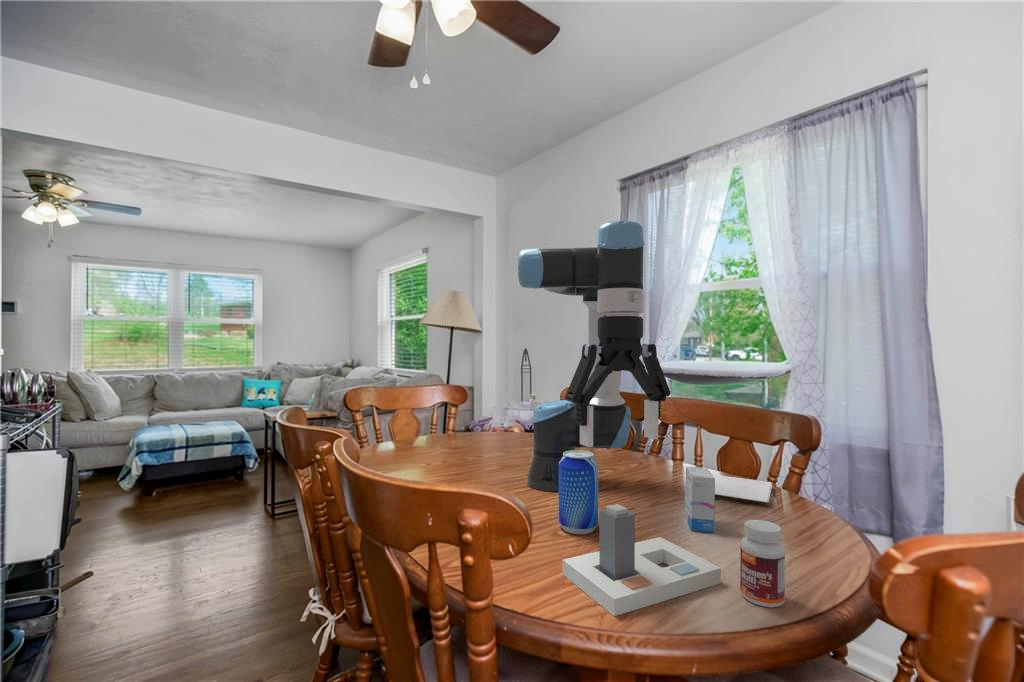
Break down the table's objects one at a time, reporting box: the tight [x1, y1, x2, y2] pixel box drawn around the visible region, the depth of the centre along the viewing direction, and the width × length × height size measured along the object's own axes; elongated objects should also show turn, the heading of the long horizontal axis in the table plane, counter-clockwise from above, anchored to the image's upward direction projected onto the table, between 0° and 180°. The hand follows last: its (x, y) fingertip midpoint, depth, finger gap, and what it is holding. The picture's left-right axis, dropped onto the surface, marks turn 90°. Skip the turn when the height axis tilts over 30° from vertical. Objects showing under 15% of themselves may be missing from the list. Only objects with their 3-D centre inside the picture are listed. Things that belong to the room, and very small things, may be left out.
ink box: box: [684, 466, 716, 533], centre depth 104 cm, size 9×5×12 cm, turn 168°
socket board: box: [562, 536, 722, 617], centre depth 80 cm, size 14×22×3 cm, turn 116°
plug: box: [599, 503, 636, 581], centre depth 78 cm, size 4×4×13 cm
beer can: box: [558, 449, 599, 535], centre depth 102 cm, size 8×8×16 cm
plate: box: [711, 473, 773, 505], centre depth 127 cm, size 19×19×2 cm
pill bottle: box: [739, 519, 786, 608], centre depth 74 cm, size 6×6×11 cm
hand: (619, 441), depth 80 cm, fingers open, 13 cm apart
